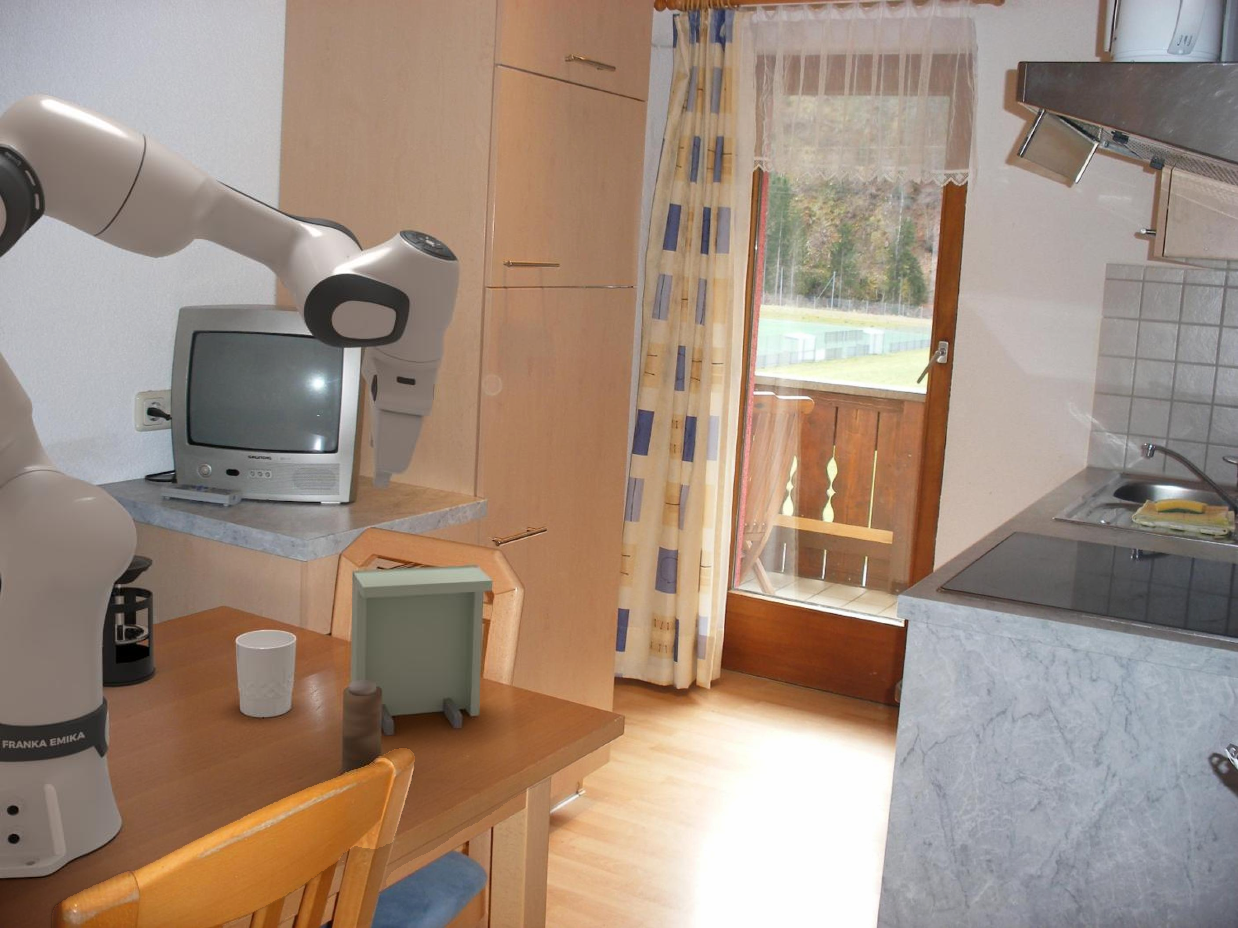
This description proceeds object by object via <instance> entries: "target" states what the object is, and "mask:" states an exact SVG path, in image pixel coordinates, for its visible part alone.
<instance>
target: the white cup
mask: <svg viewBox="0 0 1238 928" xmlns="http://www.w3.org/2000/svg"><path fill="white" fill-rule="evenodd" d="M296 649H297V636H296V635H295V634H293V633H291V632H289V631H285V630H279V629H262V630H253V631H248V632H245V633H242V634H240V635H238V636H237V637H236V638H235V652H236V653H235V654H236V655H235V658H236V672H237V673H236V675H237V676H236V677H237V687H238V688H237V690H238V695H239V709H240V710H239V711H240V712H241V713H242V714H244V715H246V716H248V717H252V718H263V717H264V718H273V717H278V716H281V715H284V714H286V713H288V712H289V711H290V710H291V709H292V695H293V694H292V693H293V689H294V680H295V669H296V668H295V667H296V666H295V665H296V652H297V651H296Z"/></svg>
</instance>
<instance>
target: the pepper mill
mask: <svg viewBox="0 0 1238 928" xmlns="http://www.w3.org/2000/svg"><path fill="white" fill-rule="evenodd" d="M342 695H343V696H342V697H343V698H342V741H341V742H342V746H341V747H342V752H341V755H342V756H341V773H342V774H343V773H345V772H349V771H351V770H354V769H358V768H361V767H364V766H366V765H369V764H370V763H371V762H373V761H374V760H375V759H376V758H378V757H379V756H381V755H382V727H381V724H382V689H381V688H380V687H378V686H376V683H375V682H373V681H369V680H358V681H354V682H352V683H351V682H350V683H349V685H348V686H347V687H346V688H344V689H343V691H342ZM381 757H382V756H381Z"/></svg>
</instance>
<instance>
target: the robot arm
mask: <svg viewBox="0 0 1238 928" xmlns="http://www.w3.org/2000/svg"><path fill="white" fill-rule="evenodd" d="M43 216H45V217H49V218H52V219H55V220H58V221H61V222H63V223H65V224H67V225H69V226H71V227H74V228H76V229H78V230H79V231H82V232H84V233H85V234H88V235H90V236H92V237H94V238H97V239H99V240H100V241H103V242H105V243H107V244H109V245H112V246H114V247H116V248H119V249H122V250H123V251H124V250H125V251H127V252H131V253H135V254H137V255H142V256H145V257H150V258H154V259H159V258H164V257H169V256H172V255H174V254H176V253H180V252H181V251H183V250H184V249H185V248H187V247H188V246H190V245H191V244H192V243H193V241H194V240H205V241H209V242H212V243H214V244H215V245H218V246H221V247H223V248H226V249H228V250H230V251H232V252H235V253H237V254H240V255H242V256H244V257H246V258H249V259H251V260H253V261H255V262H258V263H260V264H262V265H263V266H265V267H267V268H268V269H269V270H271V271H272V273H274V275H275V276H276V277H277V278H278V279H279V281H280V282H281V284H282V285H283V286H284V288H286V290H287V291H288V293H289V295H290V297H291V299H292V301H293V303H294V305H295V307H296V310H297V311H298V313H299V315H300V318H301V319H302V321H303V323H304V324H305V326H306V328H307V329H308V331H309V333H310V334H311V335H312V336H313V337H314V338H315V339H316V340H317V341H319V342H321V343H322V344H325V345H326V346H330V347H332V348H333V347H334V348H338V349H340V348H341V349H351V348H353V349H354V348H356V349H357V348H365V350H364V356H363V359H362V360H363V361H362V364H361V376H362V377H363V379H364V380H365V381H366V383H367V385H368V397H369V398H368V399H369V409H370V411H369V413H370V421H371V425H370V426H371V430H370V431H371V432H370V435H369V445H370V447H371V448H373V449H372V450H373V459H374V460H373V461H374V473H373V476H372V484H373V487H374V488H375V489H381V490H382V489H383V490H386V489H387V488H388V487H389V485H390V481H391V477H393V474H396V475H403V474H405V473H406V472H407V470H408V468H409V467H410V466H411V462H412V459H413V456H414V453H415V450H416V446H417V444H418V441H419V438H420V434H421V432H422V428H423V423H424V417H430V416H431V413H432V410H433V404H434V397H435V396H434V395H435V393H434V391H435V388H436V384H437V380H438V376H439V370H440V368H441V367H440V366H441V363H442V359H443V355H444V351H445V345H444V344H445V343H444V340H445V333H446V331H447V329H448V327H449V326H450V324H451V322H452V319H453V316H454V310H455V305H456V302H457V298H458V291H459V284H460V273H461V272H460V271H461V270H460V269H461V268H460V261H459V260H458V258H457V256H456V255H455V254H454V252H453V251H452V250H451V249H450V248H449V246H447V244H445V243H444V242H442V241H441V240H439V239H437V238H436V237H434V236H432V235H430V234H427V233H424V232H421V231H418V230H413V229H410V230H408V229H405V230H404V229H403V230H401V231H399V232H397V233H396V235H394V236H393V237H392V238H390V239H389V240H386V241H384V242H383V243H381V244H379V245H376V246H373V247H370V248H367V249H364V250H363V247H362V246H361V243H360V241H359V240H358V238H357V236H356V235H355V234H354V233H353V232H352V231H351V230H350V229H349V228H347V227H346V226H344V225H343V224H341V223H339V222H336V221H333V220H330V219H326V218H318V217H317V218H316V217H306V216H298V215H294V214H291V213H287V212H284V211H282V210H280V209H278V208H276V207H274V206H272V205H270V204H268V203H265V202H263V201H261V200H259V199H257V198H255V197H253V196H251V195H248V194H247V193H244V192H242V191H240V190H238V189H236V188H234V187H232V186H230V185H228V184H225V183H223V182H221V181H219V180H217V179H215V178H214V177H212V176H211V175H210V174H207V173H206V172H205V171H203V170H201V169H200V168H198V167H196V165H194V164H192V163H191V162H190V161H188V160H187V159H186V158H184V157H182V156H181V155H180V154H178V153H177V152H174V151H173V150H171V149H170V148H168V147H167V146H165V145H164V144H161V143H160V142H158V141H157V140H155V139H153V138H151V137H149V136H148V135H146V134H144V133H142V132H141V131H138V130H136V129H134V128H132V127H131V126H128V125H126V124H125V123H123V122H120V121H118V120H116V119H114V118H112V117H110V116H108V115H105V114H103V113H100V112H98V111H95V110H93V109H91V108H88V107H87V106H83V105H80V104H78V103H75V102H72V101H69V100H66V99H63V98H60V97H57V96H54V95H50V94H44V93H33V94H29V95H25V96H24V97H22V98H19V100H16V101H15V102H14V103H13V104H11V105H10V106H9V107H8V108H7V109H6V110H5V111H4V112H3V114H1V115H0V258H2V257H3V256H4V255H5V254H7V253H8V252H9V251H10V250H11V249H12V248H13V247H14V246H15V245H16V244H17V243H18V242H19V240H21V238H22V237H23V236H24V235H25V234H26V233H27V232H28V231H29V230H30V229H31V228H32V227H33V226H34V225H35V224H36V223H37V222H38V221H39V220H40V219H41V218H42V217H43ZM32 415H33V403H32V400H31V398H30V397H29V394H28V393H27V391H26V390H25V389H24V387H23V386H22V384H21V382H20V381H19V380H18V378H17V376H16V375H15V373H14V371H13V370H12V368H11V366H10V365H9V363H8V362H7V360H6V358H5V357H4V356H3V354H2V352H1V351H0V579H1V580H0V581H1V584H0V585H1V588H0V879H6V878H7V879H8V878H9V879H10V878H29V877H35V878H36V877H44V876H48V875H51V874H53V873H54V872H56V871H57V870H60V869H61V868H62V867H63V866H65V865H66V864H67V863H69V862H71V861H72V860H74V859H76V858H79V857H81V856H84V855H86V854H88V853H91V852H92V851H94V850H97V849H99V848H101V847H102V846H104V845H105V844H107V843H108V842H109V841H110V840H112V839H113V838H114V837H115V836H117V834H118V833H119V831H120V830H121V827H122V824H123V820H122V816H121V814H120V811H119V809H118V806H117V803H116V799H115V796H114V791H113V788H112V783H111V779H110V773H109V765H108V757H107V752H108V751H109V750H108V749H109V745H110V715H109V712H110V711H109V709H108V702H107V701H108V700H107V698H106V697H105V696H104V695H103V694H104V693H103V692H104V691H103V690H104V689H103V687H104V686H103V684H102V647H103V645H102V636H103V626H104V620H105V615H106V611H107V607H108V604H110V603H109V602H110V599H111V597H110V595H111V592H112V588H114V586H115V585H114V583H115V581H116V580H117V579H118V578H119V577H120V576H121V575H122V574H123V573H124V572H125V571H126V569H127V568H128V566H129V565H130V563H131V561H132V559H133V557H134V555H135V554H136V553H135V552H136V549H137V544H138V543H137V542H138V535H137V528H136V525H135V522H134V520H133V517H132V515H131V514H130V513H129V511H128V510H127V509H126V508H125V507H124V506H123V505H122V504H121V503H120V502H119V501H118V500H117V499H116V498H114V497H113V496H112V495H110V494H109V492H107V491H106V490H105V489H103V487H100V486H98V485H97V484H93V483H91V482H89V481H87V480H86V481H85V480H82V479H79V478H76V477H74V476H70V475H67V474H65V473H64V472H63V471H62V470H61V469H59V468H58V467H57V466H56V464H54V463H53V462H52V461H51V459H50V458H49V456H48V455H47V454H46V451H45V449H44V447H43V446H42V442H41V440H40V437H39V434H38V432H37V430H36V426H35V423H34V420H33V416H32Z"/></svg>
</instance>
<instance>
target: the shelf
mask: <svg viewBox="0 0 1238 928" xmlns="http://www.w3.org/2000/svg"><path fill="white" fill-rule="evenodd" d="M351 583H352V584H351V586H352V587H351V632H350V633H351V643H350V644H351V645H350V650H351V651H350V652H351V653H350V683H352V682H354V681H358V680H369V681H373V682H375V683H376V686H378V687H380V688H381V689H382V724H381V730H382V731H383V732H384V735H385V736H394V731H395V722H394V720H393V718H392V717H394V716H403V715H404V716H405V715H413V714H416V715H417V714H426V713H435V712H443V713H444V714H445V716H446V718H447V719H448V721H449V722H450V724H451V726H452V727H453V729H456V730H457V729H462V728H463V714H462V713H461V711H460V710H466V712H467V714H469V716H470V717H476V716H477V717H478V716H480V701H481V699H480V698H481V694H480V693H481V675H482V674H481V672H482V646H483V645H482V643H483V641H482V640H483V621H484V619H483V618H484V616H483V615H484V594H485V593H484V592H493V579H492V578H491V577H489V575H488V574H487V573H485V572H484V571H483V570H482V568H480V567H479V566H478V564H477V565H476V564H475V565H474V564H473V565H472V564H471V565H455V566H453V565H452V566H433V567H432V566H430V567H409V568H408V567H407V568H389V569H367V570H365V569H364V570H352V582H351Z"/></svg>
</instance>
